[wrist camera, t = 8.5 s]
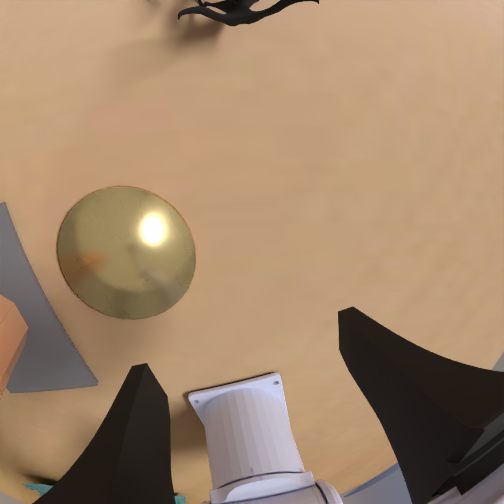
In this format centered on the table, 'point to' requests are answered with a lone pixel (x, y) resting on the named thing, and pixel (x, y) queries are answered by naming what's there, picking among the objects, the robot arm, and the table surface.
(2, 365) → the octagonal domed knob
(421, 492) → the robot arm
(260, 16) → the creature
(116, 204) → the brass token
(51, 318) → the charcoal mat
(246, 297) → the table surface
